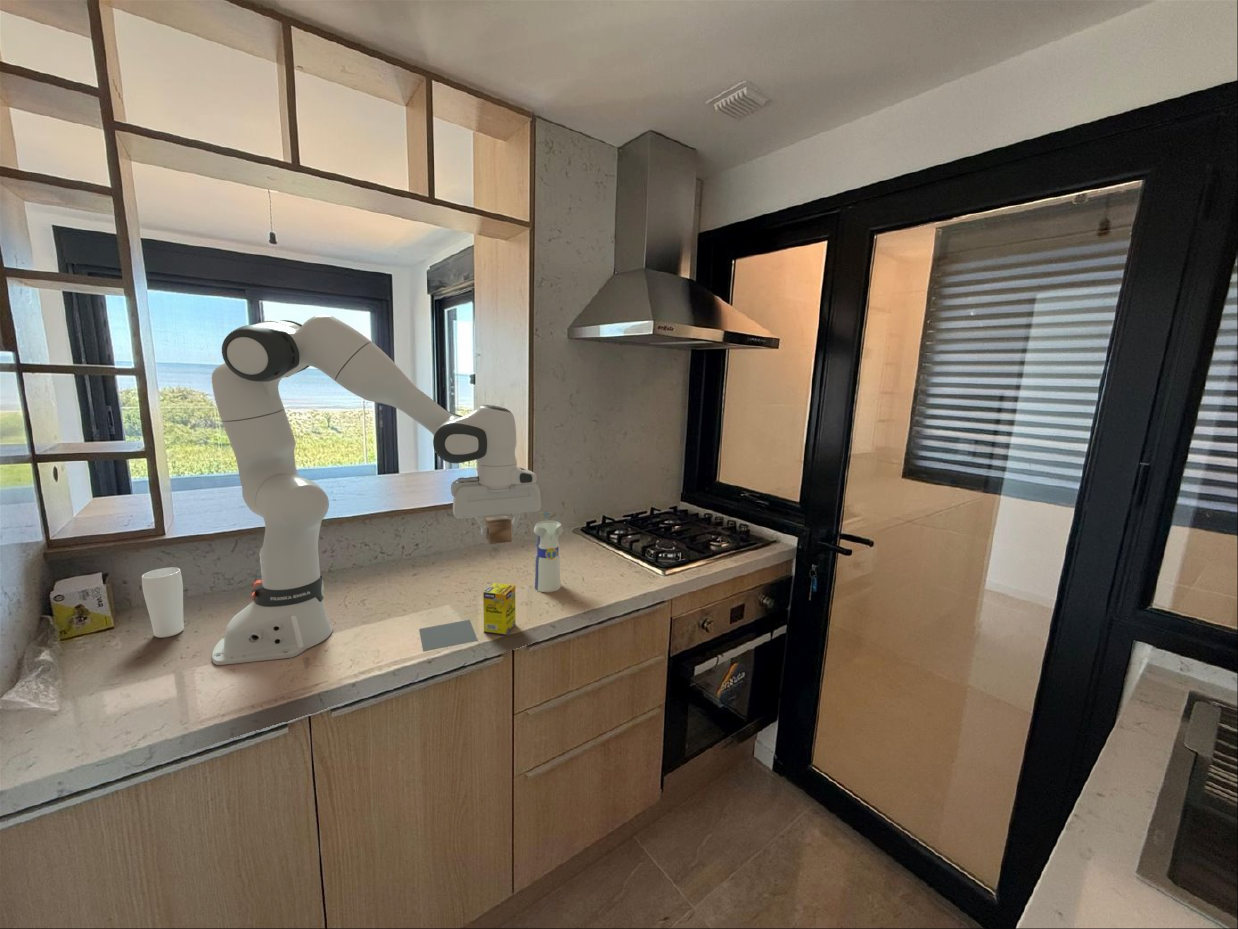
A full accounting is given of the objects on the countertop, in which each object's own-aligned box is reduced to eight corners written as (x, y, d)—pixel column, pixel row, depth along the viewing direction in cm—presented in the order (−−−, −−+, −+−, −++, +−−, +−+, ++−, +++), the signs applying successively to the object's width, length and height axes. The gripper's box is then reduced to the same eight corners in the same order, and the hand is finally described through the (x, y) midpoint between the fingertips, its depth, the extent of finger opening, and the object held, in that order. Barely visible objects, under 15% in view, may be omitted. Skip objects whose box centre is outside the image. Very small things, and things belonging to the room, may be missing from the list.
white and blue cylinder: (566, 589, 147) (567, 507, 142) (538, 594, 143) (538, 510, 139) (557, 579, 154) (558, 501, 150) (530, 583, 150) (530, 503, 146)
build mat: (423, 653, 111) (423, 651, 111) (419, 630, 121) (419, 628, 121) (477, 641, 117) (477, 640, 117) (469, 621, 126) (469, 619, 126)
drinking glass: (157, 628, 119) (149, 569, 116) (193, 624, 121) (185, 565, 119) (144, 642, 112) (134, 580, 110) (181, 637, 115) (173, 576, 113)
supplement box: (506, 637, 119) (505, 594, 117) (483, 634, 120) (482, 591, 118) (516, 625, 125) (516, 584, 123) (494, 623, 126) (493, 582, 124)
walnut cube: (490, 544, 115) (489, 523, 114) (485, 537, 119) (485, 517, 119) (511, 541, 117) (511, 521, 116) (506, 535, 122) (506, 515, 121)
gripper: (452, 481, 108) (454, 541, 111) (543, 475, 117) (543, 531, 120) (448, 475, 114) (450, 533, 116) (535, 470, 123) (535, 524, 125)
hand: (498, 532), depth 118 cm, fingers closed on walnut cube, 5 cm apart
